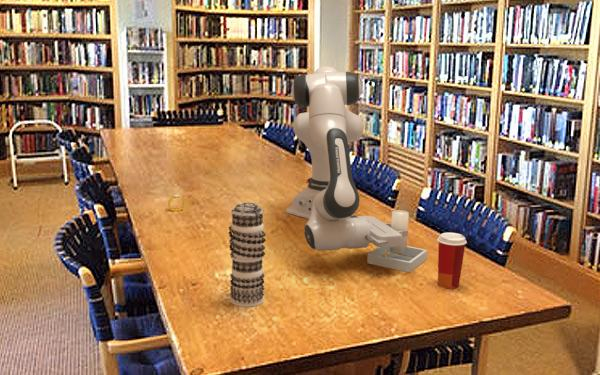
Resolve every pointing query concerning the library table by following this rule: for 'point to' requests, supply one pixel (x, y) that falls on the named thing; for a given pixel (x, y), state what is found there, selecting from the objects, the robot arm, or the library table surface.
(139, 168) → the library table surface
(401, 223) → the white pillar candle
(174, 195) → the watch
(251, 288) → the decorative candle
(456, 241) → the paper cup
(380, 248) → the corral
